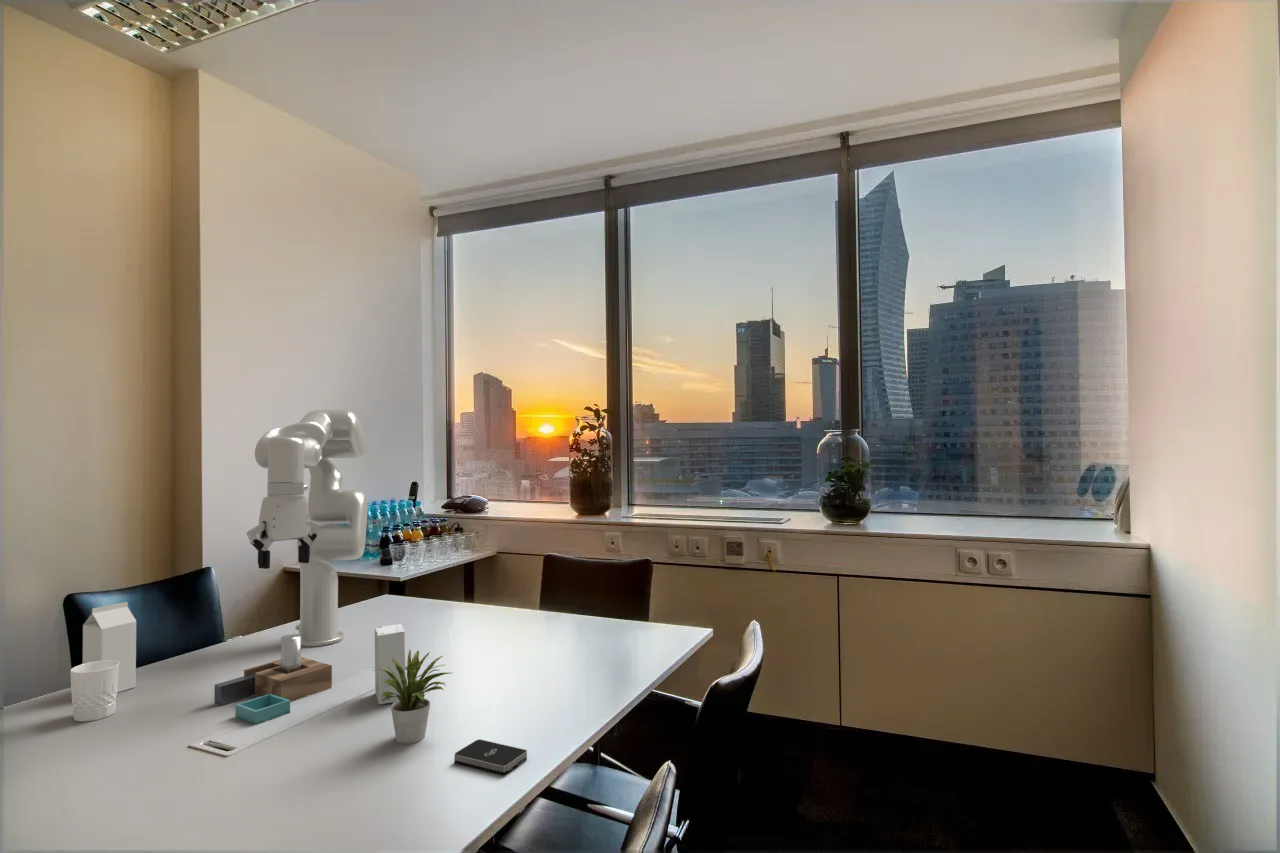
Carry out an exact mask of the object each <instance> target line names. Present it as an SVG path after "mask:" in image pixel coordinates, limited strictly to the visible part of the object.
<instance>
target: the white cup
mask: <svg viewBox="0 0 1280 853" xmlns="http://www.w3.org/2000/svg"><path fill="white" fill-rule="evenodd" d="M118 677H119V662H118V661H115V660H103V661H95V662H89V663H85V664H83V663H81V664H79V665H76V666H74V667H72V668H70V692H71V693H70V694H71V707H72V713H73V714H72V717H73V718H72V719H73V721H74V722H79V723H80V722H82V723H83V722H84V723H85V722H94V721H99V720H102V719H105V718H108V717H110V716H112V715H113V714H115V712H117V711H116V709H117V707H116V706H117V697H118V692H117V689H118Z"/></svg>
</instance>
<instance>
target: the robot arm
mask: <svg viewBox="0 0 1280 853" xmlns="http://www.w3.org/2000/svg"><path fill="white" fill-rule="evenodd" d="M363 430H364V429H363V427H362V424H361V421H360V419H359V417H358V416H357V414H355V413H354V412H353V411H351V410H347V409H315V410H311V411H310V412H308V413H307V414H305V415H304V417H303V418H302V419H300V421H299V422H296V423H292V424H287V425H285V426H281V427H278V428H277V427H276V428H273V429H270V430H269V431H267V432H265V433H264V434H263V435H262V436H261V437H260V439H259V440H258V441H257V443H256V445H255V449H254V459H255V462H256V464H257V465H258V466H260V467H261V468H263V469H267V484H266V485H267V486H266V488H267V490H266V491H267V493H266V494H267V496H263V498H262V502H261V505H260V511H259V516H258V525H256V526H254V527H252V528H251V529H249V530H248V531H247V532H246V536H247V538H248V540H249V541H250V544H251V545H252V546H253V547H254V549H255V550H256V551H257V565H258V568H259V569H265V570H268V569H270V567H271V550H268V549H269V548H270V547H271V545H272V544H273V543H274V542H281V541H292V540H296V548H297V549H296V550H297V556H298V557H297V562H298V563H299V571H300V572H299V573H300V574H299V575H300V578H299V580H300V591H299V592H300V597H299V598H300V604H299V605H300V606H299V608H300V610H299V612H300V614H299V615H300V616H299V617H300V619H299V620H300V621H299V624H297V625H295V626H294V627H295V630H297V631H298V634H299V635H301V647H307V648H310V647H320V646H327V645H332V644H335V643H338V642H341V641H342V640H343V639H344V637H345V636H344V633H343V632H342V631H340V630H339V628H338V627H339V626H338V623H339V622H338V616H339V615H338V612H339V610H338V609H339V606H338V605H339V600H338V599H339V577H338V573H337V571H336V569H335V568H334V567H333V565H332V564H331V563H330V562H331V561H332V562H333V561H352V560H353V561H354V560H358V559H360V558H361V557H363V555H364V553H365V548H366V539H367V524H368V523H367V522H368V512H369V511H368V509H369V508H368V499H367V496H366V494H365V493H364V491H361V490H357V489H342V487H343V481H344V480H343V473H342V472H341V470H340V468H338V467H337V466H336V465H335V464H334V463H333V462H332V461H331V460H330V459H355V458H359V457H361V456H363V455H364V454H365V451H366V447H367V445H366V444H367V443H366V440H367V439H366V437H365V436H366V435H365V432H364V431H363ZM305 469H308V470H309V475H310V482H309V486H308V485H307V484H305ZM308 488H309V490H308ZM305 491H308V498H307V496H306V495H305V494H304V493H305ZM319 524H325V525H326V524H328V525H326V526H325V525H323V526H321V525H319ZM329 524H331V525H329ZM333 524H348V525H333Z"/></svg>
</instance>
